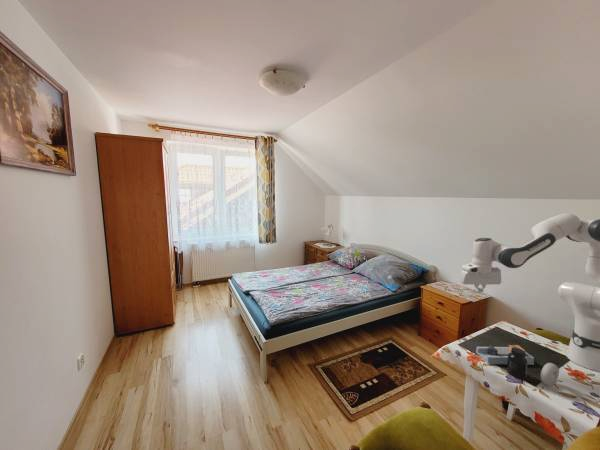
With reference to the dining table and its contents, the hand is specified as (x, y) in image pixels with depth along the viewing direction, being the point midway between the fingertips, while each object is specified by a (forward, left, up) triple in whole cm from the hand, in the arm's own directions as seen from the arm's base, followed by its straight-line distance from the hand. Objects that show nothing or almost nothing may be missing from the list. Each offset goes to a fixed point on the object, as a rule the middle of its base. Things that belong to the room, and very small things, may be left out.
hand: (479, 291), depth 131 cm
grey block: (-5, +12, -30) cm, 33 cm away
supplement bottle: (-3, +23, -31) cm, 39 cm away
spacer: (-12, +12, -30) cm, 35 cm away
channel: (-6, +12, -31) cm, 34 cm away
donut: (-12, +29, -31) cm, 44 cm away
